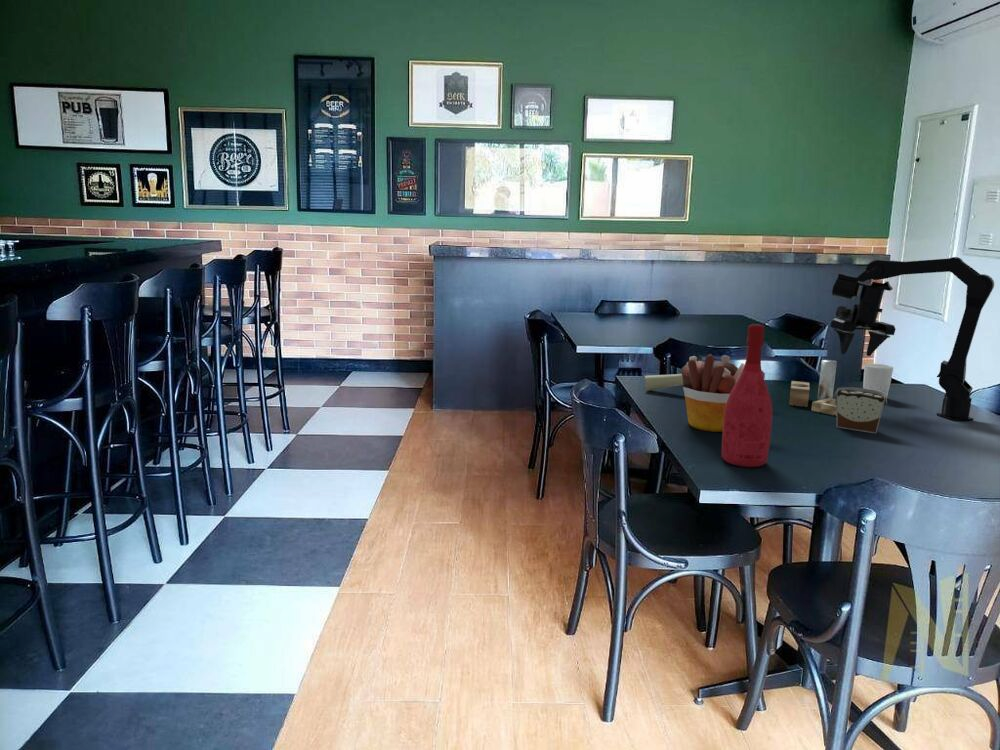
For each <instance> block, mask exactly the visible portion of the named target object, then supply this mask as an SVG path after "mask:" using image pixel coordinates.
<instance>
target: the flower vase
mask: <svg viewBox="0 0 1000 750" xmlns="http://www.w3.org/2000/svg"><path fill="white" fill-rule="evenodd" d="M733 364H734V363H733ZM741 364H742V363H740V365H741ZM734 365H735V364H734ZM735 366H736V365H735ZM761 370H762V369H761ZM762 374H763V377H764V379H766V374H765V371H764V370H762ZM644 385H645V389H646V391H647V392H649V391H655V390H660V389H665V388H672V387H678V386H683V378H682V373H676V374H674V373H673V374H658V375H645V376H644Z"/></svg>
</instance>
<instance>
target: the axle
mask: <svg viewBox="0 0 1000 750" xmlns="http://www.w3.org/2000/svg"><path fill="white" fill-rule="evenodd" d="M820 365H821V366H820V372H819V373H820V374H819V383H818V391H817V398H816V401H819V400H823V399H827V398H833V397H834V390H835V389H834V388H835V381H836V380H835V379H836V373H837V372H836V371H837V361H836V360H834V359H832V360H831V359H822V360H821V364H820ZM833 399H834V398H833Z"/></svg>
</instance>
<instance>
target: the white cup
mask: <svg viewBox="0 0 1000 750" xmlns="http://www.w3.org/2000/svg"><path fill="white" fill-rule="evenodd" d="M863 369H864V371H863V385H862V388H863V389H870V390H875V391H879V392H882V393H884V394H886V397H887V398H888V394H889V390H890V386H891V383H892V377H893V372H894V366H891V365H888V364H883V363H882V364H881V363H865V364H864V368H863Z"/></svg>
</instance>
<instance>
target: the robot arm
mask: <svg viewBox="0 0 1000 750" xmlns="http://www.w3.org/2000/svg"><path fill="white" fill-rule="evenodd" d="M946 272H948V273H952V274H953V275H954V276H955V277H956V278H957V279H959V280H960V281H961V282H962V283H963V284H965V286H966V294H965V295H966V296H965V309H964V312H963V316H962V319H961V322H960V325H959V327H958V328H959V329H958V332H957V335H956V339H955V341H954V346H953V349H952V352H951V355H950V358H949V359H948V361H947V360H943V361H942V362H941V363H940V369H939V373H938V374H937V375H936V378H938V385H939V386H940V387H941V388H942V389H943V390H944V391H945V393H944V397H943V398H942V399H943V400H942V406H941V412H937V413H936V415H937V416H939V417H942V418H944V419H949V420H951V421H974V420H975V419H974V417H970V412H971V404H972V398H971V396H970V395H971V393H972V391H973V389H974V388H973V387H972V386H971V384H969V383H968V381H967V380H966V373H967V358H968V355H969V352H970V349H971V345H972V342H973V338H974V335H975V332H976V330H977V329H976V328H977V326H978V322H979V319H980V316H981V313H982V310H983V308H984V306H985V304H986V303H987V301H988V299H989V298H990V295H991V293H992V292H993V290H994V287H995V280H994V279H993V277H991V276H990V275H988V274H985V273H984V274H982V273H981V274H980V273H979V272H978V271H977V270H976V269H974V268H973V267H972V266H970V265H969V264H968V263H966V262H964V260H963V259H962V258H961V257H959V256H958V257H957V256H953V257H949V258H938V259H925V260H924V259H923V260H911V261H901V260H900V261H899V260H888V259H875V260H871V261H870V262H869V263H868V264H867V265H866V268H865V271H863V272H862V273H860V274H859V275H858V276H852V275H847V274H845V273H838V275H837V278H836V280H835V282H834V284H833V286H832V291H831V296H832V297H837V298H841V299H845V300H846V299H847V300H851V301H853V300H854V299H855V298H858V297H859V299H858V303H854V305H853V307H852V308H850V309H849V308H847V306H844V305H843V306H842V305H840V306H837V308H836V312H835V318H833V319H832V320H831V322H830V325H829V327H830V328H833V329H832V330H833V331H835V332H836V334H837V335H838V338H839V344H840V354H842V355H845V354H846V353H847V351H848V350H849V348H850V346H851V343H852V341H853V339H854V336H855V333H854V331H855V330H862V331H863V330H864V331H865V330H866V331H867V332H868V335H869V339H868V345H867V349H866V354H865V355H866V356H867V357H871V356H872V355H873V353H874V352H875V351H876V350H877V349H878V348H879V347H880V346H881V345H882V344H883V343H884V342H885V341H886V340H887V339H889V338H891V336H895V333H896V327H895V324H890V323H887V322H884V321H877V318H878V316H879V313H880V314H881V313H882V312H883V310H884V309H883V308H880V307H881V304H882V301H883V296H884V293H885V291H893V289H894V288H893V286H892V285H891V283H890V281H885V282H884V283H883V282H877V281H881V280H885V279H890V278H895V277H899V276H903V275H917V274H931V273H933V274H934V273H946ZM869 281H872V283H870V284H869V283H865V282H869Z"/></svg>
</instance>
